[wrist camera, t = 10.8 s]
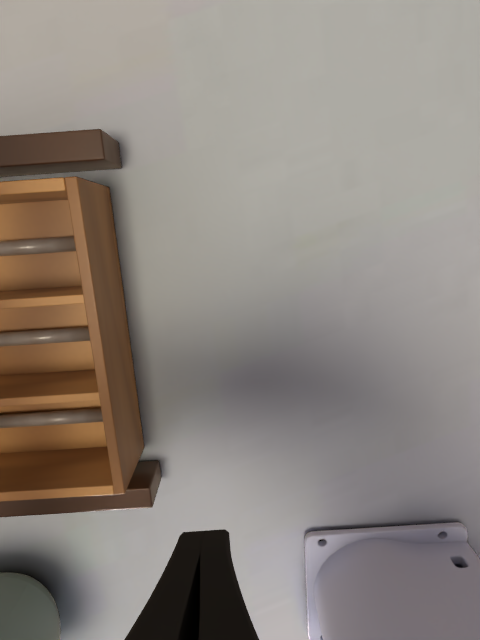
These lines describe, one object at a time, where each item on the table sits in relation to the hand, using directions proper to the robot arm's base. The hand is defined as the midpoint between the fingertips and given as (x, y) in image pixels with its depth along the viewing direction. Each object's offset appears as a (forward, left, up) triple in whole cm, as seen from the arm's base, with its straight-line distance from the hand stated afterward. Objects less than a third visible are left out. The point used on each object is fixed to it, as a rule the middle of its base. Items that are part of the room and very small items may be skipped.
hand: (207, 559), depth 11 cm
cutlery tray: (+9, -5, -10) cm, 15 cm away
